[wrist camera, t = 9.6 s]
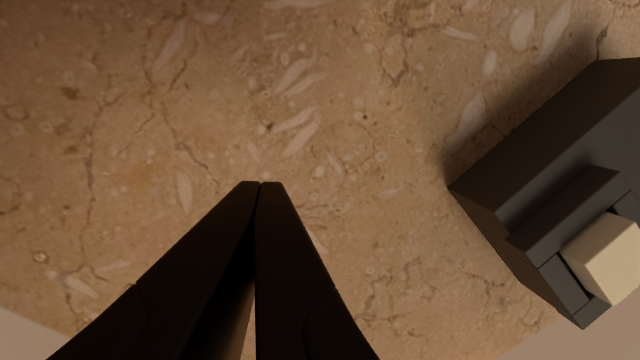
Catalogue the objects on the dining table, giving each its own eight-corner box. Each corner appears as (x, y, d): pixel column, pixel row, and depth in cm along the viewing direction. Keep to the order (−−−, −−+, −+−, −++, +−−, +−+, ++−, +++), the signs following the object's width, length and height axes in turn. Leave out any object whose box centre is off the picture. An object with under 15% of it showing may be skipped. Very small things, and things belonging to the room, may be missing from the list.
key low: (585, 290, 21) (614, 307, 20) (557, 250, 20) (584, 265, 19) (630, 251, 21) (663, 265, 20) (603, 209, 20) (635, 221, 19)
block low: (515, 287, 28) (597, 349, 22) (441, 192, 26) (507, 230, 19) (656, 166, 28) (784, 192, 21) (594, 59, 26) (716, 50, 19)
